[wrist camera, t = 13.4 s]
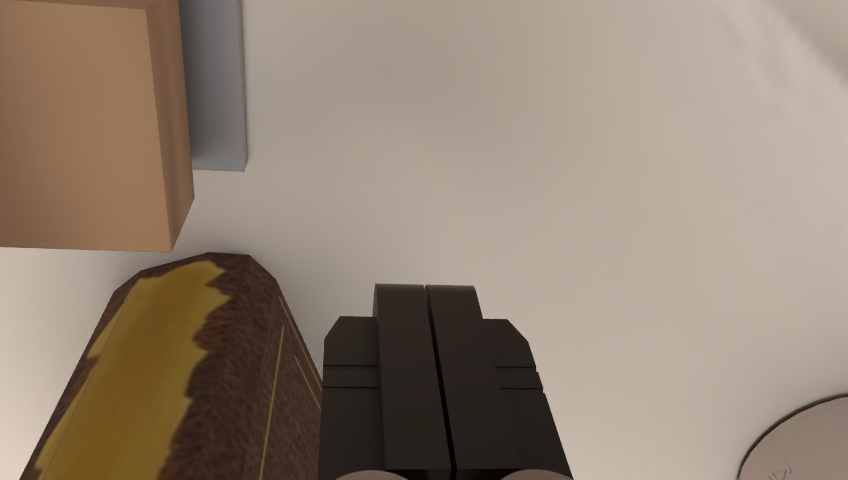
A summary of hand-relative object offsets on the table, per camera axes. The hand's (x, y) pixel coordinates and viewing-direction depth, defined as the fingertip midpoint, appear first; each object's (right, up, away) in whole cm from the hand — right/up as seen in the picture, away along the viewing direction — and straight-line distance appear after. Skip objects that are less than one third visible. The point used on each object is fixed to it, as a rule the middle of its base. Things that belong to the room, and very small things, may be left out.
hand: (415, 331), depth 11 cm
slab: (-10, +7, +10) cm, 16 cm away
